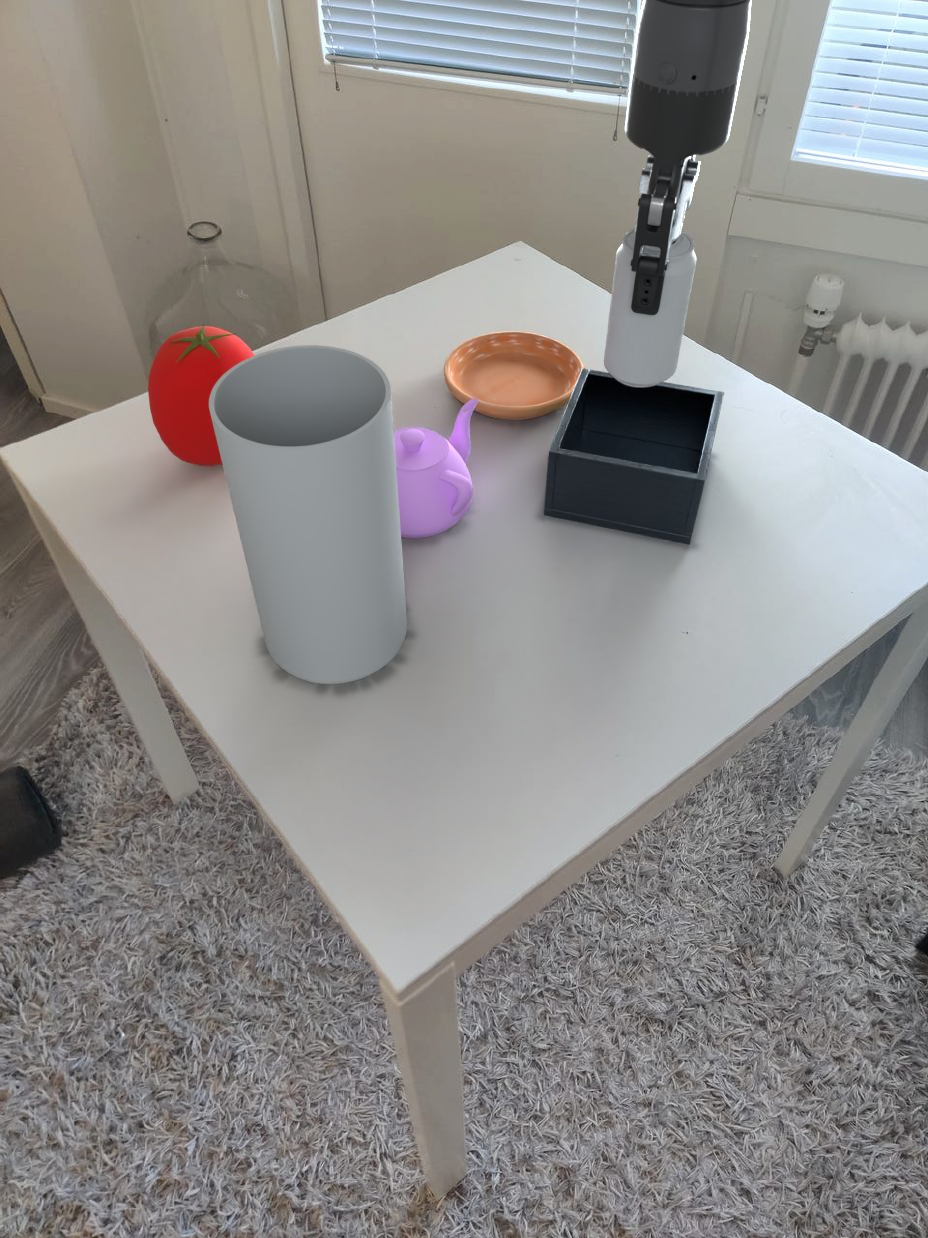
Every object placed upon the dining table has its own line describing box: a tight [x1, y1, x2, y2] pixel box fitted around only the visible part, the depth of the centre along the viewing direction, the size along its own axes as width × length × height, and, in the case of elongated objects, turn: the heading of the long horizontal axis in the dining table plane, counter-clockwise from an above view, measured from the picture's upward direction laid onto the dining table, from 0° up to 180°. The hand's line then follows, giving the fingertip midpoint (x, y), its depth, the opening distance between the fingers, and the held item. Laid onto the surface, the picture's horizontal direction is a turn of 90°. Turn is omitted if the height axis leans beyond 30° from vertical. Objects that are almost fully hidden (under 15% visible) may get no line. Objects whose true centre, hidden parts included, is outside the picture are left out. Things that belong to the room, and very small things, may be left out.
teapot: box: [394, 398, 478, 539], centre depth 92 cm, size 12×14×9 cm
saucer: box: [443, 330, 585, 421], centre depth 108 cm, size 16×16×3 cm
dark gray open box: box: [543, 368, 725, 545], centre depth 95 cm, size 15×15×8 cm
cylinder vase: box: [209, 344, 408, 685], centre depth 75 cm, size 12×12×25 cm
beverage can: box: [603, 227, 697, 387], centre depth 79 cm, size 6×6×12 cm
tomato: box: [147, 324, 256, 467], centre depth 97 cm, size 13×11×14 cm
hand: (651, 290), depth 78 cm, fingers closed on beverage can, 6 cm apart
